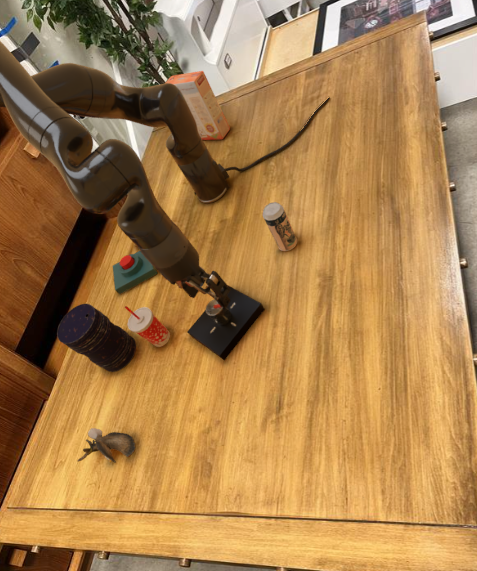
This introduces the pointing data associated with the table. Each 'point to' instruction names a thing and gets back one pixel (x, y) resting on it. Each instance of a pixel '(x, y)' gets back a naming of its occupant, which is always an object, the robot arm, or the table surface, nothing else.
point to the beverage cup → (148, 326)
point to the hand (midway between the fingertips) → (210, 299)
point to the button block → (133, 273)
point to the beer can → (279, 226)
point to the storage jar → (96, 338)
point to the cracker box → (202, 104)
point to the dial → (218, 313)
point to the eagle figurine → (109, 444)
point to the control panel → (230, 334)
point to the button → (127, 262)
